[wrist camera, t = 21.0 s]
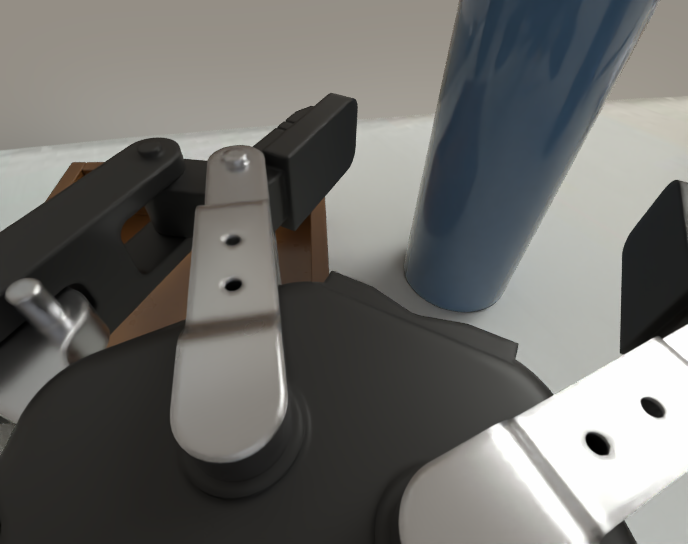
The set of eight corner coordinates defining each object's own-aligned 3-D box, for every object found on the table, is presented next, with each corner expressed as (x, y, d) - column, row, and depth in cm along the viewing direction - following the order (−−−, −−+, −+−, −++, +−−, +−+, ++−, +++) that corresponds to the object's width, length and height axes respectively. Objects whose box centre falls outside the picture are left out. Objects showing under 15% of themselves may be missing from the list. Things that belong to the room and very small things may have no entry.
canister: (487, 235, 26) (626, -101, 14) (520, 310, 22) (758, -71, 10) (396, 238, 25) (457, -106, 13) (413, 314, 21) (523, -77, 9)
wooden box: (323, 210, 27) (322, 158, 24) (333, 404, 18) (333, 359, 15) (102, 216, 26) (71, 161, 23) (-5, 422, 17) (-79, 379, 14)
